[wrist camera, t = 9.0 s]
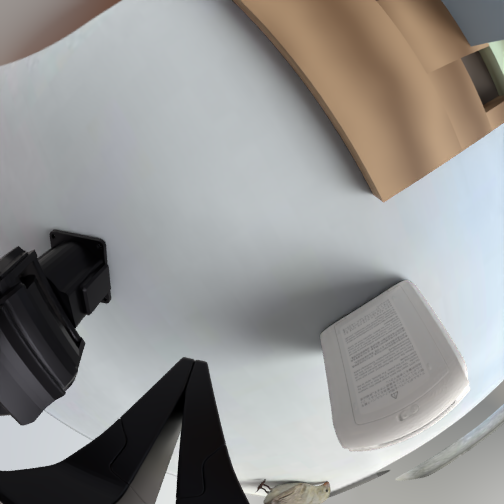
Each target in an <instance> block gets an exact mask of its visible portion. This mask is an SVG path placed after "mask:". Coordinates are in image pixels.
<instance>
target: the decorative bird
mask: <svg viewBox="0 0 504 504" xmlns="http://www.w3.org/2000/svg"><path fill="white" fill-rule="evenodd" d="M264 482H265V481H263V482H261V484H260V485H259V486H258V490H259V489H260V488H261V489H263V490H265V489H264V488H262V485H264V486H267V485H265V484H264ZM267 487H268V488H269V489H270V490H271V491H270V492H268V491H266V490H265V492H266V493H268V495H267V496H266V498H265V500H264V504H320V503H322V502H324V501H325V500H326V499H327V498H328V497H329V494H330V484H329V482H325V483H324V484H322V485H320V486H313V485H311V484H308V483H288V484H282V485H278V486H275V487H274V488H273V489H272V488H270V487H269V486H267ZM258 490H257V491H258ZM257 491H256V492H257Z"/></svg>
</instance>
